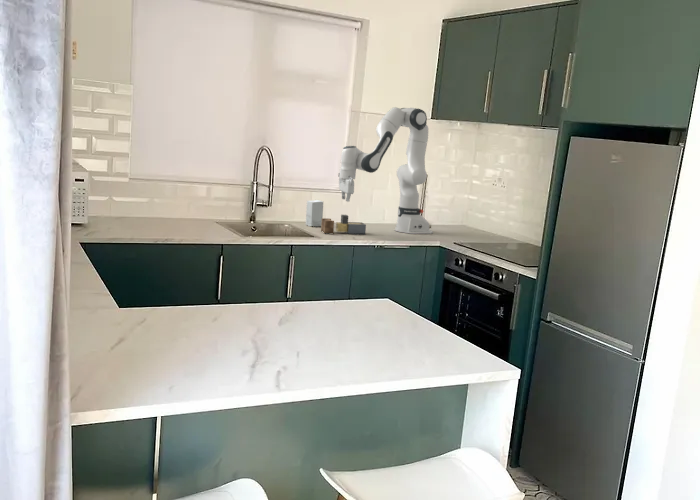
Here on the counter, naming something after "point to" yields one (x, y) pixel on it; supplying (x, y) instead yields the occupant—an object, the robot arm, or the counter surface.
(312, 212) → the skincare box
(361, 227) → the sleeve
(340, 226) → the tan block
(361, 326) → the counter surface
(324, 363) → the counter surface
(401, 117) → the robot arm
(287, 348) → the counter surface
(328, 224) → the brown wooden box
